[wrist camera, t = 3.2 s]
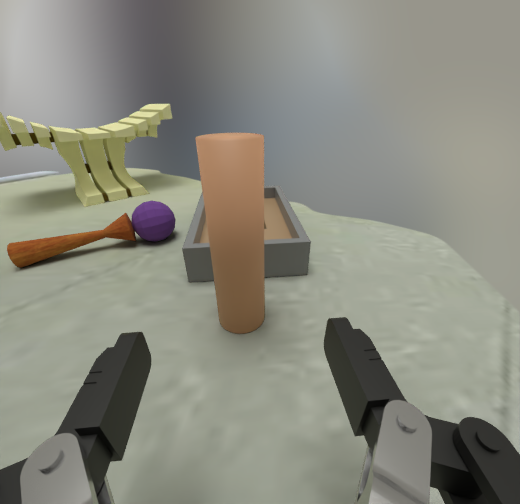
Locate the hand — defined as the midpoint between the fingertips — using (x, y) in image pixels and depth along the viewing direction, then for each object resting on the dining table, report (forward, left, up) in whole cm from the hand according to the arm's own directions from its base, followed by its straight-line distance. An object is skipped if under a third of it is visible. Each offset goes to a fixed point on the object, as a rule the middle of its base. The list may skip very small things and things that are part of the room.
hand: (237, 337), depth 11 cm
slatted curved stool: (-30, +54, -9) cm, 63 cm away
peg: (0, +10, -9) cm, 14 cm away
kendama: (-19, +26, -9) cm, 34 cm away
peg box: (+1, +27, -9) cm, 29 cm away
